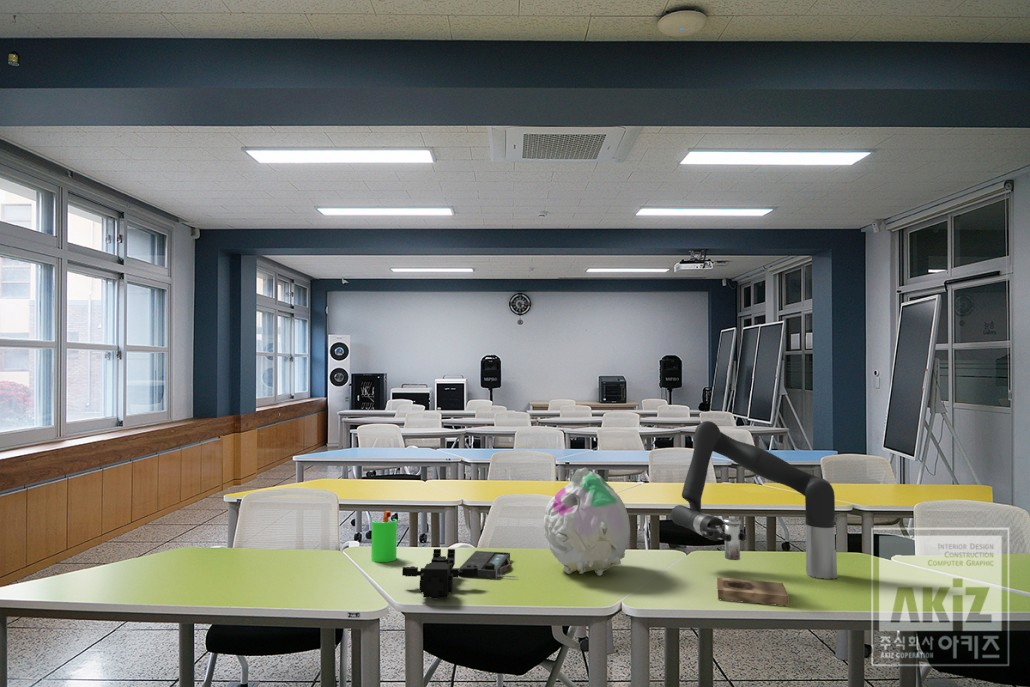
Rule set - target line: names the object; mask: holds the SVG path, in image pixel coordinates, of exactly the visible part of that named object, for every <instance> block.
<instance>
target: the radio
mask: <svg viewBox="0 0 1030 687" xmlns="http://www.w3.org/2000/svg"><path fill="white" fill-rule="evenodd" d="M467 567H471V568H478V576H474V577H470V578H474V579H475V578H476V579H490V580H497V579H498V578H500V577H501V578H502V577H503V578H518V576H516V575H506V574H505V575H504V574H503V573H505V572H508V571H509V570H511V552H502V551H483V550H476V551H474V552H473V553H472V554H471V555H470V556H469V557H468V558H467V559H466V560H465V561H464V563H463V564H462V565H460V567H458V568H459V571H462V569H463V568H467ZM459 577H460V578H463V577H462V576H459ZM459 577H458V578H459Z"/></svg>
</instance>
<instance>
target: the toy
mask: <svg viewBox="0 0 1030 687" xmlns="http://www.w3.org/2000/svg"><path fill="white" fill-rule="evenodd" d="M455 564H456V549H455V548H448V549H447V553H446V556H443V555H442V549H441V548H433V553H432V558H431V562H429V563H426V564H425V566H424V567H420V570H419V567H418V566H403V567H402V571H401V572H402V574H401V575H402V577H403V576H404V577H413V578H414V577H419V592H420V593H422V598H427V599H429V598H430V599H440V598H442V599H446V598H448V597H449V594H450V593H453V590H454V587H453V586H454V578H459V576H462V577H461V578H471V577H474V576H478V568H471V567H467V568H463V569H462V571H459V568H460V567H456V568H455V567H454V566H455Z"/></svg>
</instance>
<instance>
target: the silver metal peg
mask: <svg viewBox="0 0 1030 687" xmlns="http://www.w3.org/2000/svg"><path fill="white" fill-rule="evenodd" d="M722 521H723V523H724V524H725V533H728V534H730V535H731V541H730V542H728V541H725V540H724V558H725V559H726V560H728V561H729V560H730V561H740V560H741V540H740V528H741V525H742V520H741V519H738V518H726V517H725V518H723V520H722Z"/></svg>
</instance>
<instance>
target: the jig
mask: <svg viewBox="0 0 1030 687" xmlns="http://www.w3.org/2000/svg"><path fill="white" fill-rule="evenodd" d="M716 579H717V580H716V584H717V586H716V589H718V590H717V600H718V599H721V600H720V601H725V600H733V601H732V602H736V601H743V602H742V603H746V602H754V603H753V604H757V603H764V604H763V605H768V604H776V605H775V606H778V605H785V606H784V607H789V595H788V592H787V590H786V588H785V585H784V583H783V582H775V581H764V580H750V579H742V578H729V577H727V578H726V577H716Z"/></svg>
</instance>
